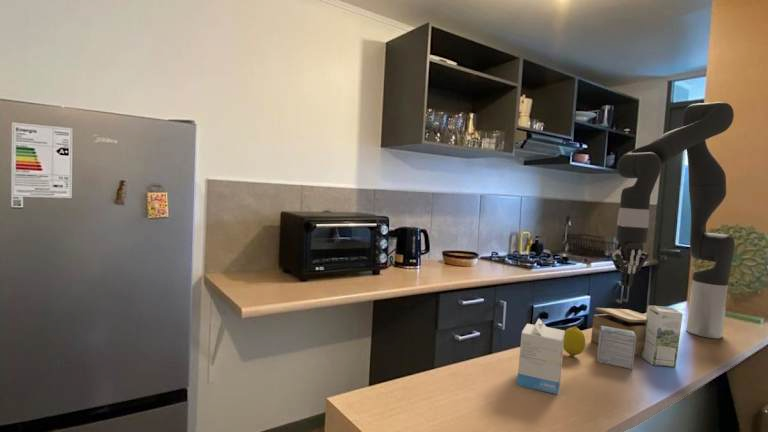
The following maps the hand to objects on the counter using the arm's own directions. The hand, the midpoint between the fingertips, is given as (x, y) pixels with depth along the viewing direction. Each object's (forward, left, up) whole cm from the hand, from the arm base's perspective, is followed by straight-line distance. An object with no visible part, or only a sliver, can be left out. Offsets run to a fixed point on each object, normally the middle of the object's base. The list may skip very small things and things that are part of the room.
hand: (626, 285), depth 118 cm
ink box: (+40, +12, -18) cm, 46 cm away
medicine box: (+12, +8, -18) cm, 23 cm away
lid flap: (-2, 0, -9) cm, 9 cm away
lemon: (+20, +2, -18) cm, 27 cm away
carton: (-2, 0, -18) cm, 18 cm away
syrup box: (-1, +11, -18) cm, 21 cm away
